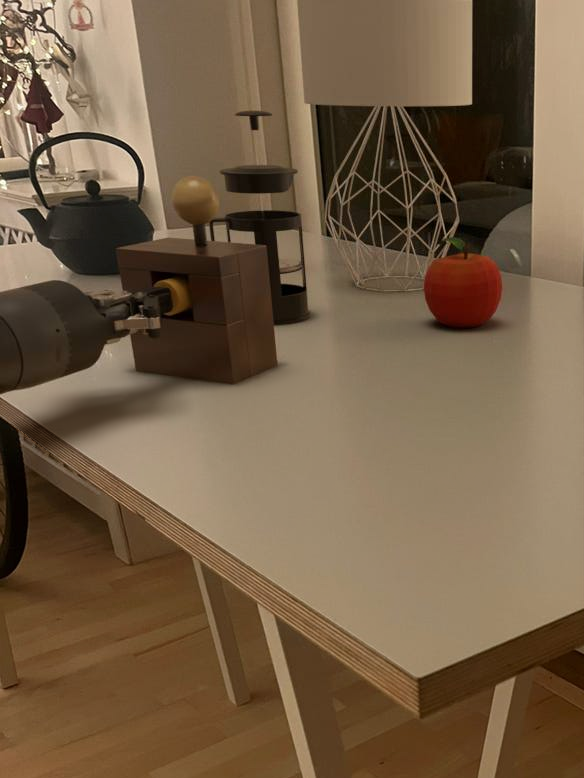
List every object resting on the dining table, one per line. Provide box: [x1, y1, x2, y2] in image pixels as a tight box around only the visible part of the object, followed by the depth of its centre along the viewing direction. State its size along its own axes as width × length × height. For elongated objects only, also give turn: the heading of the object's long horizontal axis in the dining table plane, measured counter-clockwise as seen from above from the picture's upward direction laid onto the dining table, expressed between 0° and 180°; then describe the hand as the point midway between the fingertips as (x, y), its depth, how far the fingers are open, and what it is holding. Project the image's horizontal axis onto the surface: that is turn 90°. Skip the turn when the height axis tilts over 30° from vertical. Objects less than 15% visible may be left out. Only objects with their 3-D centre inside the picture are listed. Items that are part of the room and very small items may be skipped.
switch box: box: [115, 175, 278, 385], centre depth 98 cm, size 8×12×18 cm, turn 67°
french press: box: [208, 110, 311, 326], centre depth 118 cm, size 12×9×23 cm
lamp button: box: [154, 276, 193, 315], centre depth 96 cm, size 3×3×3 cm
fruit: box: [423, 236, 503, 329], centre depth 119 cm, size 10×10×10 cm
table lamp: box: [296, 0, 473, 292], centre depth 134 cm, size 22×22×40 cm
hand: (165, 298), depth 95 cm, fingers closed
